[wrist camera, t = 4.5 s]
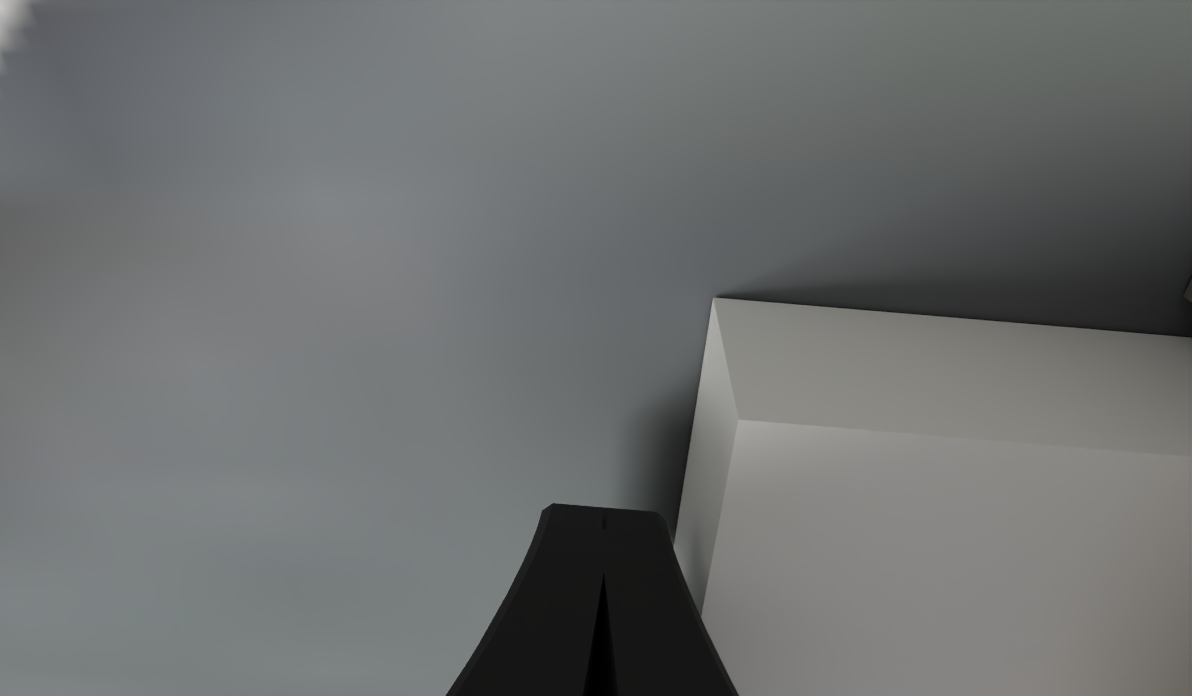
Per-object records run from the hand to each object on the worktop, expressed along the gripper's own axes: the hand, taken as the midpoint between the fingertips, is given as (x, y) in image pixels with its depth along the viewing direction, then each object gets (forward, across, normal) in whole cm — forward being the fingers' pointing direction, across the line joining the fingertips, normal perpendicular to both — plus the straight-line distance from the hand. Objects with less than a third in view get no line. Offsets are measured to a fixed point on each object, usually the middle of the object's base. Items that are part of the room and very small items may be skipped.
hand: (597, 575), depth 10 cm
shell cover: (+1, -4, 0) cm, 4 cm away
